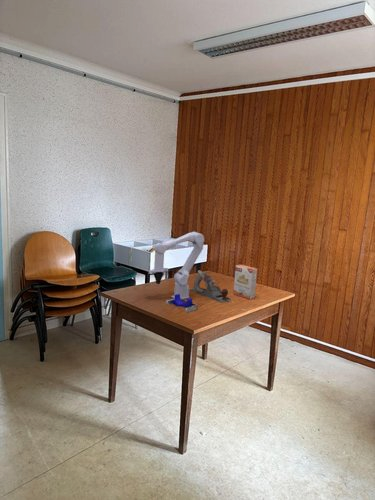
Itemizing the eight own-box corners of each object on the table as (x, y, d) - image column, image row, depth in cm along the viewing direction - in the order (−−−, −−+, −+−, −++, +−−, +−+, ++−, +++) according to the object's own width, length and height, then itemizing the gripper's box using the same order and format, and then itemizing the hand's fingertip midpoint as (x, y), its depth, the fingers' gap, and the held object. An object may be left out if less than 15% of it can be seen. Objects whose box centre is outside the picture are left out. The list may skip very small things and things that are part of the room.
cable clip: (172, 304, 224) (173, 295, 223) (177, 303, 228) (178, 293, 227) (186, 309, 216) (187, 300, 215) (191, 308, 220) (192, 298, 219)
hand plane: (222, 303, 233) (224, 280, 231) (188, 290, 258) (190, 269, 256) (232, 301, 239) (234, 279, 237) (198, 288, 264) (199, 268, 262)
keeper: (176, 301, 230) (177, 297, 229) (197, 309, 218) (198, 304, 217) (166, 304, 223) (166, 299, 223) (186, 312, 211) (187, 307, 211)
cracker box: (232, 294, 254) (235, 265, 250) (238, 293, 258) (240, 264, 255) (249, 299, 244) (252, 269, 241) (254, 298, 248) (257, 268, 245)
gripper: (154, 265, 221) (153, 286, 223) (172, 262, 231) (170, 283, 234) (146, 262, 226) (145, 284, 228) (164, 260, 236) (163, 281, 238)
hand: (157, 283), depth 231 cm, fingers closed
